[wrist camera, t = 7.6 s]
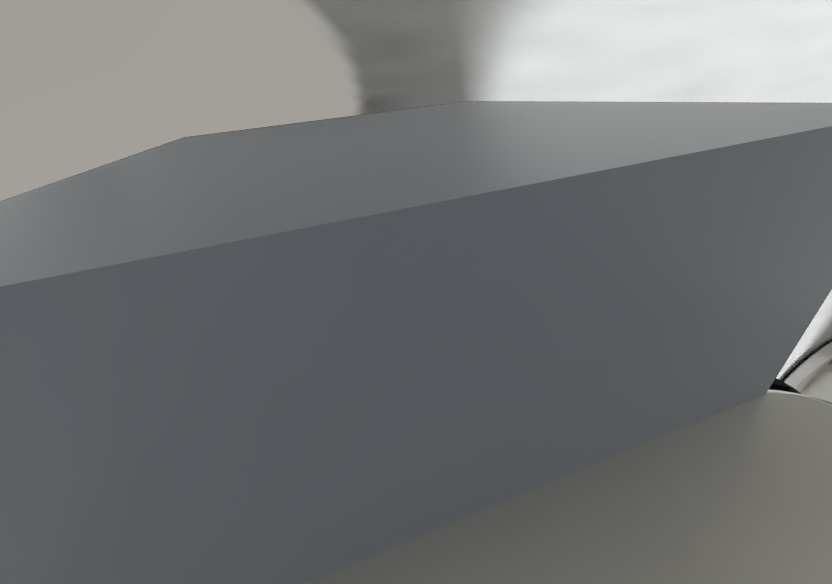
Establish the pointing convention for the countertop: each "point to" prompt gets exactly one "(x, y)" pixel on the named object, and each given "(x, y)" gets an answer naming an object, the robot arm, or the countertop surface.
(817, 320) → the countertop surface
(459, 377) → the grey flat-faced block
